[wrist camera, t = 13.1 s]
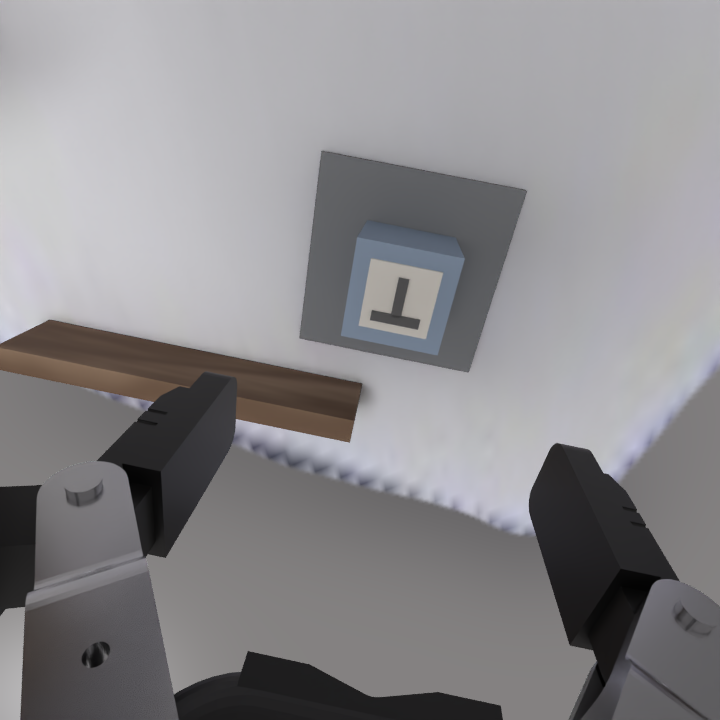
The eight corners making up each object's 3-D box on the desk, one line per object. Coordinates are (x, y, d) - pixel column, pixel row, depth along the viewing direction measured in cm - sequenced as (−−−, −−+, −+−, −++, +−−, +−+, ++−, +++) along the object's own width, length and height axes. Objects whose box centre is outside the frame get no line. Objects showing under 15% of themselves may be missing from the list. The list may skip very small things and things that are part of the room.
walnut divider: (49, 319, 31) (-6, 346, 27) (362, 383, 30) (354, 420, 26) (52, 340, 31) (-1, 369, 27) (358, 403, 31) (349, 442, 27)
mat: (323, 151, 24) (321, 151, 23) (524, 189, 24) (527, 190, 23) (301, 334, 29) (299, 338, 28) (467, 368, 29) (468, 372, 28)
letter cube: (367, 220, 25) (356, 238, 20) (455, 237, 25) (465, 259, 20) (353, 303, 27) (340, 337, 22) (433, 320, 27) (437, 357, 22)
